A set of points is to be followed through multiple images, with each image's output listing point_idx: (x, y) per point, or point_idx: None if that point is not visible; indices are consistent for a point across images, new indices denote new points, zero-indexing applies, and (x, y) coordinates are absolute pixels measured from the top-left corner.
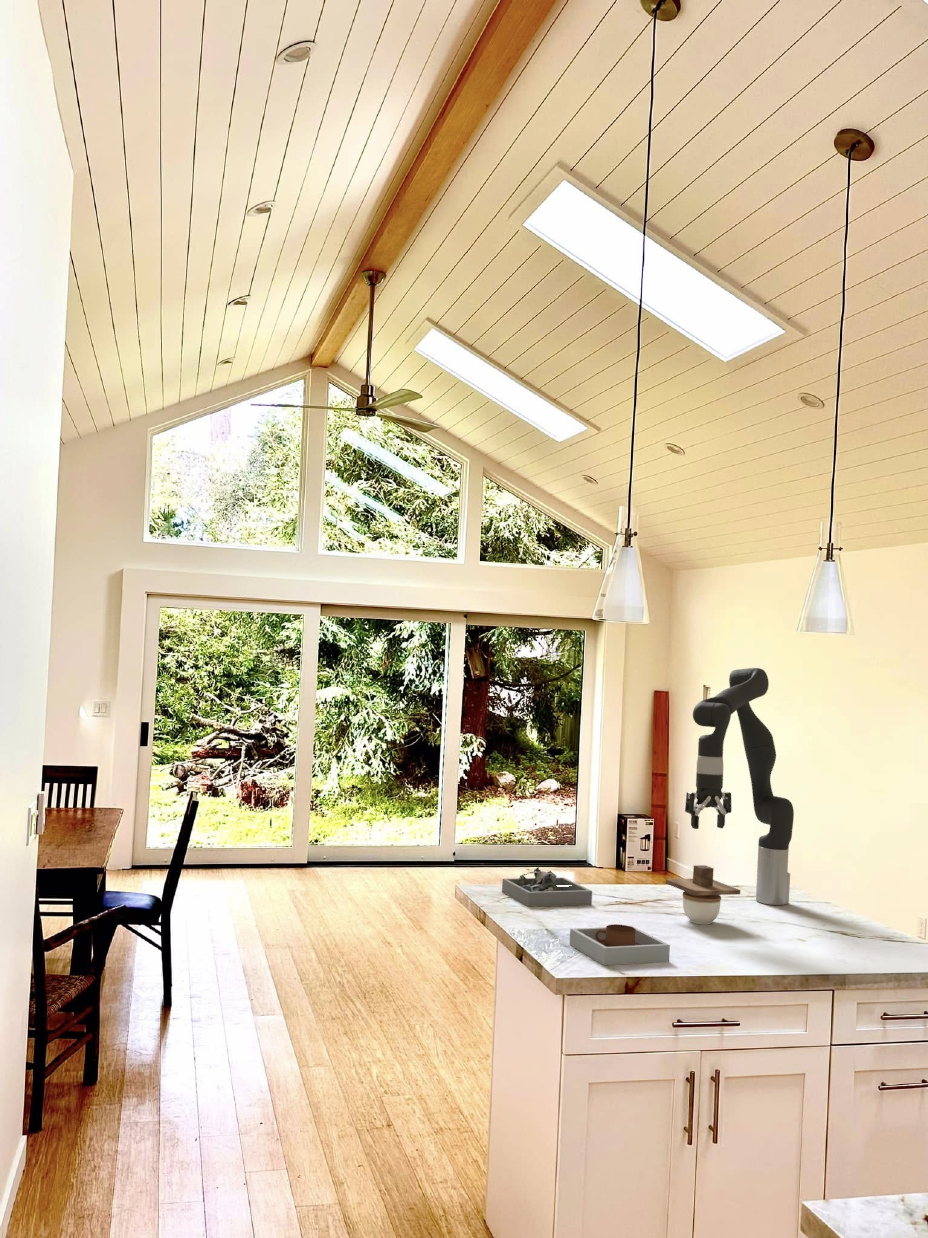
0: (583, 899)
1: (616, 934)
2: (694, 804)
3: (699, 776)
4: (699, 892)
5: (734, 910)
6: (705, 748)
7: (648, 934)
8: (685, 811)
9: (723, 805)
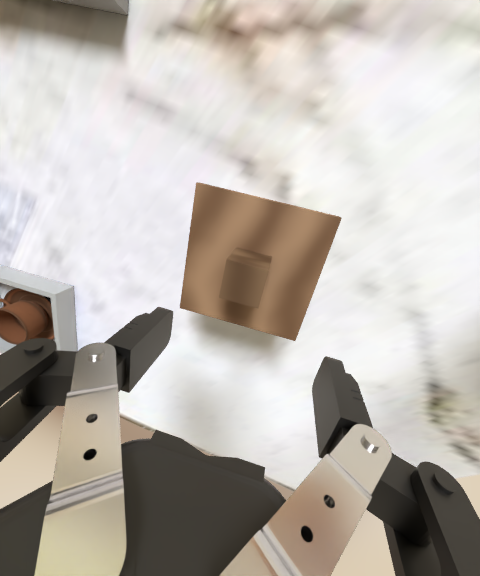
0: (97, 1)
1: (2, 332)
2: (64, 409)
3: None
4: (190, 309)
5: (429, 203)
6: None
7: (57, 333)
8: (28, 343)
9: (438, 539)
